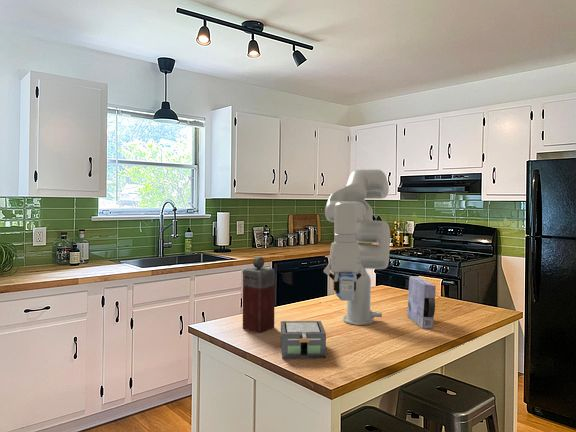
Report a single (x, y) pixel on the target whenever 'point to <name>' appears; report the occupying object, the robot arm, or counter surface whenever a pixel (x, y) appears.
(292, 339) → the grey hollow square box
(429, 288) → the cake pan box
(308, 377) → the counter surface
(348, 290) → the medicine box
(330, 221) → the robot arm
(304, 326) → the light grey flat panel
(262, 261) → the red square decanter
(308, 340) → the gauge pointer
